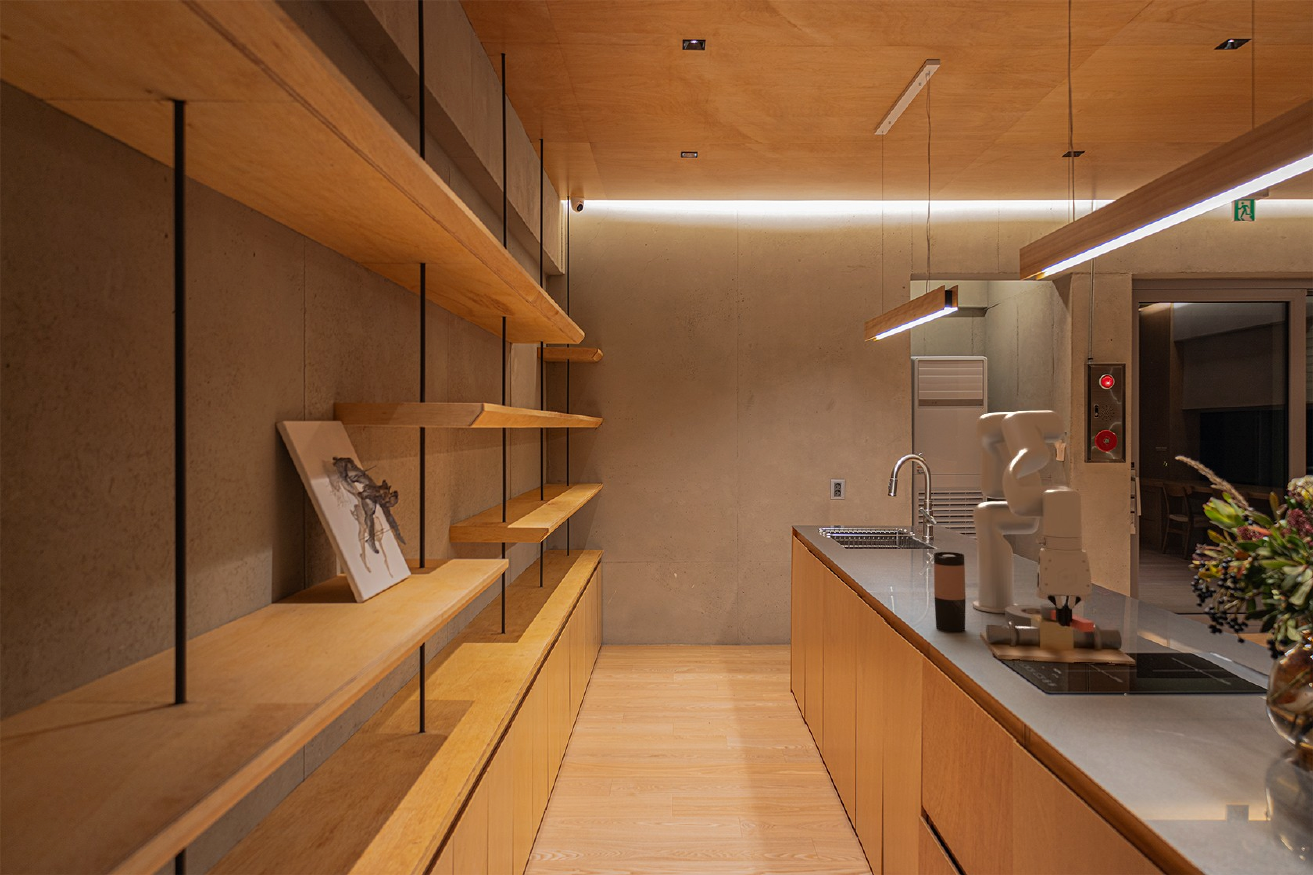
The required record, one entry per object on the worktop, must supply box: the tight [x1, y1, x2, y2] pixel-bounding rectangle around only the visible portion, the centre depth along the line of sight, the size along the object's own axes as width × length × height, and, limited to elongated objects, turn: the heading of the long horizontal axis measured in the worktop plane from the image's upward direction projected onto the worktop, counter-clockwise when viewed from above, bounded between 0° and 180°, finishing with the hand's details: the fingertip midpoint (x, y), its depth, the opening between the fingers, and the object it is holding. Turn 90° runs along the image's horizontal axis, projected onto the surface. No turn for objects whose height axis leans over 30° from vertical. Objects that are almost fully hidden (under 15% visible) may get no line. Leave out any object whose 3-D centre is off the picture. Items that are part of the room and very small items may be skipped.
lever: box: [1040, 603, 1095, 632], centre depth 160 cm, size 15×4×3 cm, turn 3°
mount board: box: [979, 632, 1136, 665], centre depth 165 cm, size 28×18×1 cm, turn 77°
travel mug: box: [933, 551, 967, 634], centre depth 184 cm, size 8×8×20 cm
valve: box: [985, 614, 1123, 651], centre depth 165 cm, size 28×7×8 cm, turn 77°
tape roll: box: [1004, 604, 1041, 626], centre depth 182 cm, size 15×15×5 cm
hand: (1064, 624), depth 156 cm, fingers closed
